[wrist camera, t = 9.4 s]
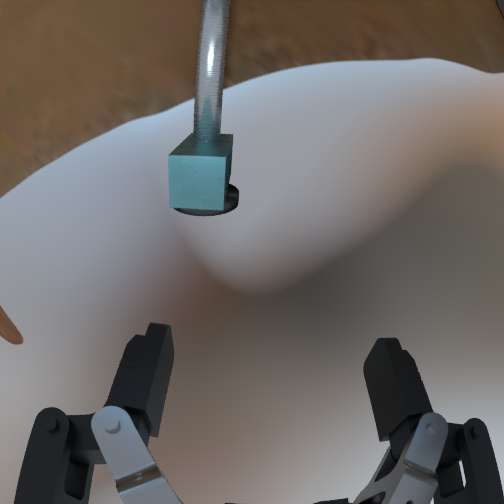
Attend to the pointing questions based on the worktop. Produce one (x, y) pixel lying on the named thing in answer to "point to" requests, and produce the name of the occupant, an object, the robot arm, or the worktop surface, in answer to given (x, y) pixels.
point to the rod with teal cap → (206, 128)
